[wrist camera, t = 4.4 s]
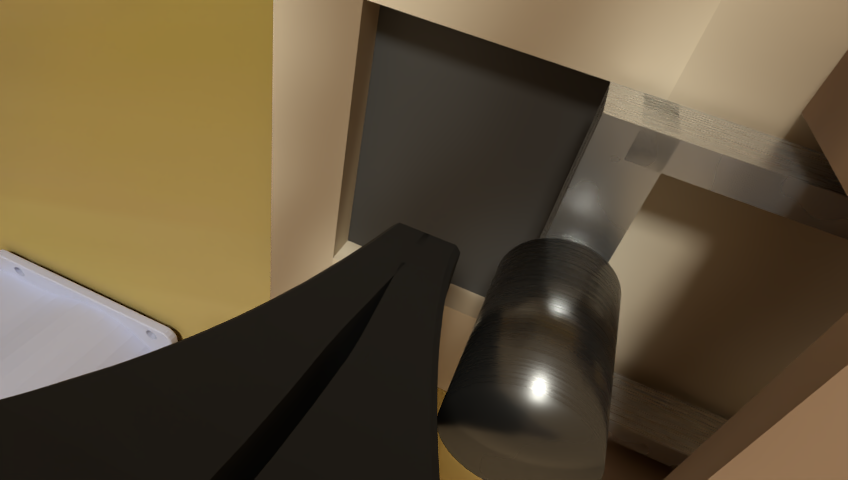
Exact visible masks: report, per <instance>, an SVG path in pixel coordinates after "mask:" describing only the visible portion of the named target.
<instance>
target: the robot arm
mask: <svg viewBox="0 0 848 480" xmlns="http://www.w3.org/2000/svg"><path fill="white" fill-rule="evenodd" d="M459 256H460V251H459V249H458V247H457V245H455V244H452V243H450V242H447V241H445V240H442V239H440V238H437V237H435V236H432V235H430V234H427V233H425V232H422V231H420V230H417V229H415V228H412V227H410V226H407V225H405V224H402V223H397V224H394V225H392V226H391V227H390V228H388V229H387V230H385V231H384V232H383V233H381V234H380V235H378V236H377V237H375V238H374V239H372V240H371V241H369V242H368V243H366V244H365V245H363V246H362V247H360V248H359V249H357V250H356V251H354V252H353V253H351V254H350V255H348V256H347V257H345V258H343V259H342V260H340V261H338V262H337V263H335V264H334V265H332V266H330V267H329V268H327V269H325V270H324V271H322V272H320V273H319V274H317V275H315V276H314V277H312V278H310V279H308V280H307V281H305V282H303V283H301V284H300V285H298V286H296V287H294V288H292V289H290V290H288V291H286V292H284V293H283V294H281V295H279V296H277V297H275V298H273V299H271V300H269V301H267V302H266V303H264V304H262V305H260V306H258V307H256V308H254V309H252V310H250V311H247V312H245V313H243V314H241V315H239V316H237V317H235V318H233V319H230V320H228V321H226V322H224V323H221V324H219V325H217V326H215V327H212V328H210V329H208V330H205V331H203V332H201V333H198V334H196V335H194V336H191V337H188V338H186V339H183V340H181V341H178V340H177V336H176V334H175V333H174V331H172V330H171V329H170V328H169V327H167V326H165V325H163V324H161V323H158V322H156V321H154V320H152V319H150V318H148V317H146V316H144V315H142V314H139V313H137V312H135V311H133V310H131V309H129V308H127V307H125V306H123V305H120V304H118V303H116V302H114V301H112V300H110V299H108V298H106V297H104V296H101V295H99V294H97V293H95V292H93V291H91V290H89V289H87V288H85V287H82V286H80V285H78V284H76V283H74V282H72V281H70V280H68V279H66V278H63V277H61V276H59V275H57V274H55V273H53V272H51V271H49V270H47V269H44V268H42V267H40V266H38V265H36V264H34V263H32V262H30V261H28V260H25V259H23V258H21V257H19V256H17V255H15V254H13V253H11V252H9V251H6V250H0V480H440V478H439V460H438V431H437V386H438V361H439V347H440V337H441V328H442V318H443V311H444V304H445V299H446V295H447V292H448V289H449V286H450V283H451V280H452V277H453V274H454V271H455V268H456V265H457V262H458V259H459Z"/></svg>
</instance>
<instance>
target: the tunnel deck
mask: <svg viewBox="0 0 848 480" xmlns="http://www.w3.org/2000/svg"><path fill="white" fill-rule="evenodd" d="M610 82H614V83H617V84H620V85H623V86H626V87H629V88H632V89H635V90H638V91H641V92H644V93H647V94H650V95H653V96H656V97H659V98H662V99H665V100H668V101H671V102H674V103H677V104H680V105H683V106H686V107H689V108H692V109H695V110H698V111H700V112H703V113H706V114H709V115H712V116H715V117H718V118H721V119H724V120H727V121H730V122H733V123H736V124H739V125H742V126H745V127H748V128H751V129H754V130H757V131H760V132H763V133H766V134H769V135H772V136H775V137H778V138H781V139H784V140H787V141H790V142H793V143H796V144H799V145H802V146H805V147H808V148H811V149H814V150H817V151H820V152H823V153H824V155H825V156H826V158H827V160H828V162H829V164H830V165H831V167H832V169H833V171H834V173H835V174H836V176H837V178H838V180H839V182H840V184H841V185H842V187H843V189H844V191H845V193H846V194H847V196H848V0H273V99H272V198H271V296H270V300H271V299H273V298H275V297H277V296H279V295H281V294H283V293H284V292H286V291H288V290H290V289H292V288H294V287H296V286H298V285H300V284H301V283H303V282H305V281H307V280H308V279H310V278H312V277H314V276H315V275H317V274H319V273H320V272H322V271H324V270H325V269H327V268H329V267H330V266H332V265H334V264H335V263H337V262H338V261H340V260H342V259H343V258H345V257H347V256H348V255H350V254H351V253H353V252H354V251H356V250H357V249H359V248H360V247H362V246H363V245H365V244H366V243H368V242H369V241H371V240H372V239H374V238H375V237H377V236H378V235H380V234H381V233H383V232H384V231H385V230H387V229H388V228H390V227H391V226H392V225H394V224H397V223H402V224H405V225H407V226H410V227H412V228H415V229H417V230H420V231H422V232H425V233H427V234H430V235H432V236H435V237H437V238H440V239H442V240H445V241H447V242H450V243H452V244H455V245H457V247H458V249H459V251H460V256H459V259H458V262H457V265H456V268H455V271H454V274H453V277H452V280H451V283H450V286H449V289H448V292H447V295H446V299H445V304H444V311H443V318H442V328H441V337H440V347H439V361H438V386H437V387H438V388H440V389H442V390H445V391H447V390H448V388H449V385H450V383H451V380H452V378H453V375H454V373H455V371H456V368H457V366H458V363H459V361H460V358H461V356H462V353H463V351H464V348H465V346H466V344H467V341H468V339H469V336H470V334H471V331H472V329H473V326H474V324H475V322H476V319H477V317H478V314H479V312H480V309H481V307H482V304H483V302H484V300H485V297H486V295H487V292H488V290H489V287H490V285H491V282H492V280H493V278H494V275H495V273H496V270H497V268H498V265H499V263H500V262H501V260H502V258H503V257H504V256H505V255H506V254H507V253H508V252H509V251H510V250H511V249H513V248H514V247H516V246H518V245H520V244H522V243H524V242H527V241H530V240H535V239H539V238H540V236H541V234H542V231H543V229H544V227H545V225H546V223H547V220H548V218H549V216H550V214H551V212H552V209H553V207H554V205H555V203H556V200H557V198H558V196H559V194H560V192H561V189H562V187H563V185H564V183H565V181H566V178H567V176H568V174H569V172H570V170H571V167H572V165H573V163H574V161H575V159H576V156H577V154H578V152H579V150H580V148H581V145H582V143H583V141H584V139H585V137H586V134H587V132H588V130H589V128H590V126H591V123H592V121H593V119H594V117H595V115H596V112H597V110H598V108H599V106H600V104H601V101H602V99H603V97H604V95H605V93H606V90H607V88H608V86H609V84H610ZM608 263H609V265H610V266H611V267H612V268H613V270H614V271H615V273H616V275H617V277H618V280H619V282H620V286H621V304H620V314H619V325H618V335H617V345H616V356H615V366H614V372H616V373H618V374H621V375H623V376H626V377H628V378H630V379H633V380H635V381H637V382H640V383H642V384H644V385H647V386H649V387H652V388H654V389H656V390H659V391H661V392H663V393H666V394H668V395H670V396H673V397H675V398H678V399H680V400H682V401H685V402H687V403H689V404H692V405H694V406H696V407H699V408H701V409H704V410H706V411H708V412H711V413H713V414H715V415H718V416H720V417H722V418H725V419H727V420H728V421H727V422H726V423H725V424H724V425H723V426H722V427H720V428H719V429H718V430H717V431H716V432H715V433H714V434H713V435H712V436H711V437H709V438H708V439H707V440H706V441H705V442H704V443H703V444H702V445H701V446H700V447H698V448H697V449H696V450H695V451H694V452H693V453H692V454H691V455H690V456H689V457H687V458H686V459H685V460H684V461H683V462H682V463H681V464H680V465H679V466H678V467H677V468H675V469H674V468H672V467H670V466H668V465H665V464H663V463H661V462H659V461H656V460H654V459H652V458H650V457H647V456H645V455H643V454H641V453H638V452H636V451H634V450H632V449H629V448H627V447H625V446H623V445H620V444H618V443H616V442H614V441H611V440H609V439H607V449H606V459H605V468H604V474H603V476H602V478H601V480H848V240H847V239H844V238H841V237H839V236H836V235H833V234H830V233H827V232H825V231H822V230H819V229H816V228H813V227H811V226H808V225H805V224H802V223H799V222H797V221H794V220H791V219H788V218H785V217H783V216H780V215H777V214H774V213H771V212H769V211H766V210H763V209H760V208H757V207H755V206H752V205H749V204H746V203H744V202H741V201H738V200H735V199H732V198H730V197H727V196H724V195H721V194H718V193H716V192H713V191H710V190H707V189H704V188H702V187H699V186H696V185H693V184H690V183H688V182H685V181H682V180H679V179H676V178H674V177H671V176H668V175H665V174H662V173H661V174H660V176H659V178H658V179H657V181H656V183H655V184H654V186H653V188H652V189H651V191H650V193H649V195H648V196H647V198H646V200H645V201H644V203H643V205H642V206H641V208H640V210H639V211H638V213H637V215H636V216H635V218H634V220H633V222H632V223H631V225H630V227H629V228H628V230H627V232H626V233H625V235H624V237H623V238H622V240H621V242H620V244H619V245H618V247H617V249H616V250H615V252H614V254H613V255H612V257H611V259H610V260H609V262H608Z"/></svg>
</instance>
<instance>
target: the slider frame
mask: <svg viewBox="0 0 848 480" xmlns="http://www.w3.org/2000/svg"><path fill="white" fill-rule="evenodd" d="M661 173H662V174H665V175H668V176H671V177H674V178H676V179H679V180H682V181H685V182H688V183H690V184H693V185H696V186H699V187H702V188H704V189H707V190H710V191H713V192H716V193H718V194H721V195H724V196H727V197H730V198H732V199H735V200H738V201H741V202H744V203H746V204H749V205H752V206H755V207H757V208H760V209H763V210H766V211H769V212H771V213H774V214H777V215H780V216H783V217H785V218H788V219H791V220H794V221H797V222H799V223H802V224H805V225H808V226H811V227H813V228H816V229H819V230H822V231H825V232H827V233H830V234H833V235H836V236H839V237H841V238H844V239H847V240H848V196H847V194H846V193H845V191H844V189H843V187H842V185H841V184H840V182H839V180H838V178H837V176H836V174H835V173H834V171H833V169H832V167H831V165H830V164H829V162H828V160H827V158H826V156H825V155H824V153H823V152H820V151H817V150H814V149H811V148H808V147H805V146H802V145H799V144H796V143H793V142H790V141H787V140H784V139H781V138H778V137H775V136H772V135H769V134H766V133H763V132H760V131H757V130H754V129H751V128H748V127H745V126H742V125H739V124H736V123H733V122H730V121H727V120H724V119H721V118H718V117H715V116H712V115H709V114H706V113H703V112H700V111H698V110H695V109H692V108H689V107H686V106H683V105H680V104H677V103H674V102H671V101H668V100H665V99H662V98H659V97H656V96H653V95H650V94H647V93H644V92H641V91H638V90H635V89H632V88H629V87H626V86H623V85H620V84H617V83H614V82H610V84H609V86H608V88H607V90H606V93H605V95H604V97H603V99H602V101H601V104H600V106H599V108H598V110H597V112H596V115H595V117H594V119H593V121H592V123H591V126H590V128H589V130H588V132H587V134H586V137H585V139H584V141H583V143H582V145H581V148H580V150H579V152H578V154H577V156H576V159H575V161H574V163H573V165H572V167H571V170H570V172H569V174H568V176H567V178H566V181H565V183H564V185H563V187H562V189H561V192H560V194H559V196H558V198H557V200H556V203H555V205H554V207H553V209H552V212H551V214H550V216H549V218H548V220H547V223H546V225H545V227H544V229H543V231H542V234H541V236H540V238H539V239H535V240H530V241H527V242H524V243H522V244H520V245H518V246H516V247H514V248H513V249H511V250H510V251H509V252H508V253H507V254H506V255H505V256H504V257H503V258H502V260H501V262H500V263H499V265H498V268H497V270H496V273H495V275H494V278H493V280H492V282H491V285H490V287H489V290H488V292H487V295H486V297H485V300H484V302H483V304H482V307H481V309H480V312H479V314H478V317H477V319H476V322H475V324H474V326H473V329H472V331H471V334H470V336H469V339H468V341H467V344H466V346H465V348H464V351H463V353H462V356H461V358H460V361H459V363H458V366H457V368H456V371H455V373H454V375H453V378H452V380H451V383H450V385H449V388H448V390H447V393H446V395H445V397H444V400H443V402H442V405H441V407H440V410H439V412H438V416H437V428H438V432H439V435H440V438H441V440H442V442H443V444H444V445H445V447H446V448H447V450H448V451H449V452H450V453H451V454H452V456H453V457H454V458H455V459H456V460H457V461H458V462H459V463H460V464H462V465H463V466H464V467H465V468H466V469H468V470H469V471H471V472H472V473H473V474H475V475H477V476H478V477H480V478H482V479H483V480H601V478H602V476H603V474H604V468H605V459H606V449H607V439H609V440H611V441H614V442H616V443H618V444H620V445H623V446H625V447H627V448H629V449H632V450H634V451H636V452H638V453H641V454H643V455H645V456H647V457H650V458H652V459H654V460H656V461H659V462H661V463H663V464H665V465H668V466H670V467H672V468H674V469H675V468H677V467H678V466H679V465H680V464H681V463H682V462H683V461H684V460H685V459H686V458H687V457H689V456H690V455H691V454H692V453H693V452H694V451H695V450H696V449H697V448H698V447H700V446H701V445H702V444H703V443H704V442H705V441H706V440H707V439H708V438H709V437H711V436H712V435H713V434H714V433H715V432H716V431H717V430H718V429H719V428H720V427H722V426H723V425H724V424H725V423H726V422H727V421H728V420H727V419H725V418H722V417H720V416H718V415H715V414H713V413H711V412H708V411H706V410H704V409H701V408H699V407H696V406H694V405H692V404H689V403H687V402H685V401H682V400H680V399H678V398H675V397H673V396H670V395H668V394H666V393H663V392H661V391H659V390H656V389H654V388H652V387H649V386H647V385H644V384H642V383H640V382H637V381H635V380H633V379H630V378H628V377H626V376H623V375H621V374H618V373H616V372H614V366H615V356H616V345H617V335H618V325H619V314H620V304H621V286H620V282H619V280H618V277H617V275H616V273H615V271H614V270H613V268H612V267H611V266H610V265H609V263H608V262H609V260H610V259H611V257H612V255H613V254H614V252H615V250H616V249H617V247H618V245H619V244H620V242H621V240H622V238H623V237H624V235H625V233H626V232H627V230H628V228H629V227H630V225H631V223H632V222H633V220H634V218H635V216H636V215H637V213H638V211H639V210H640V208H641V206H642V205H643V203H644V201H645V200H646V198H647V196H648V195H649V193H650V191H651V189H652V188H653V186H654V184H655V183H656V181H657V179H658V178H659V176H660V174H661Z"/></svg>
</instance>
